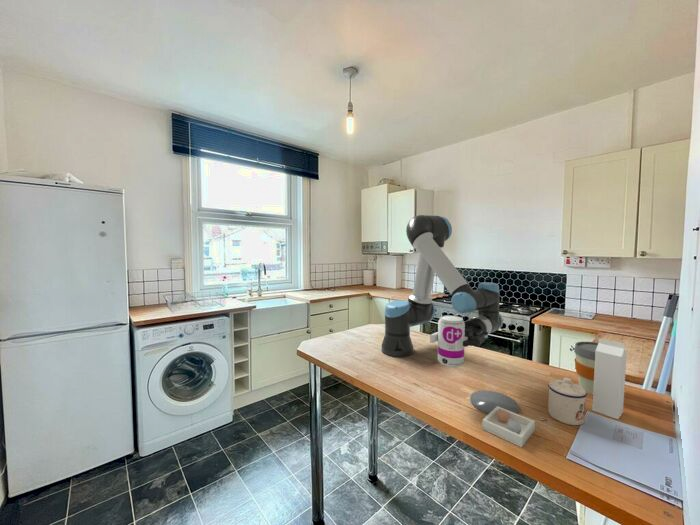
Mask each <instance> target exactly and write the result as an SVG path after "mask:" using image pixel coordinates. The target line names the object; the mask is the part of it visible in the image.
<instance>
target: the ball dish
mask: <svg viewBox="0 0 700 525" xmlns="http://www.w3.org/2000/svg"><path fill="white" fill-rule="evenodd" d="M499 410H505V411H507V412H508V414H509V420H508V421H507V422H502V421H500V420H499V419H498V417H497V412H498V411H499ZM511 420H515V421H517V422H518V423H519V424H520V426H521V431H520V433H518V434H517V433H515V432H512V431H510V430H509V429H508V422H509V421H511ZM481 425H482V428H481V429H482V430H484V431H486V432H488V433H490V434H493V435H494V436H496V437H499V438H500V439H503V440H505V441H507V442H509V443H511V444H514V445H515V446H518V447H520V448H522V447H523V446H524V445H525V444H526V442H527V441H528V440H529V438H530V437H531V436H532V434H533V433H534V432H535V430H536V429H535V428H536V426H535V425H536V420H533V419H530V418H528V417H526V416H523V415H520V414H519V413H518V414H516V413H513V412H511V411H508V410H506V409H503V408H501V407H498V406H497V407H496V408H495V409H494V410H492V411H491V412H490V413H489V414H486V416H485V417H484V418H482V421H481Z"/></svg>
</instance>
